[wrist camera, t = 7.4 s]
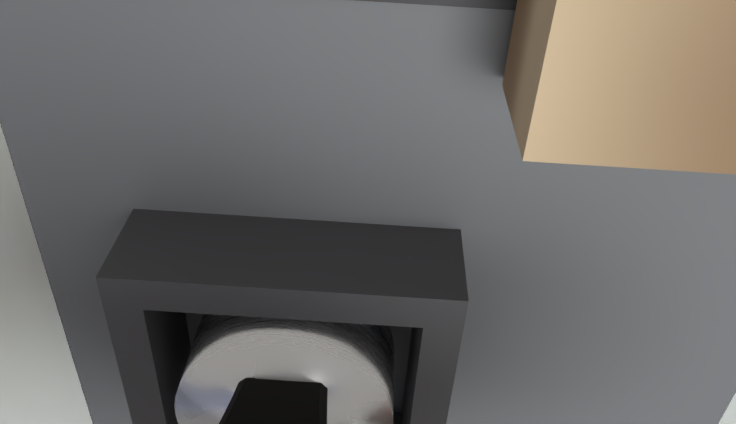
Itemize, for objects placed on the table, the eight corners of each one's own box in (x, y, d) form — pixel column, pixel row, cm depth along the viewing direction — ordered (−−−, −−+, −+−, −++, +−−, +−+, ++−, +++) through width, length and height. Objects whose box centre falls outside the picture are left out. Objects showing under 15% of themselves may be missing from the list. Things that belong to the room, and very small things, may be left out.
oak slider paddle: (502, 84, 9) (522, 160, 8) (549, -181, 8) (589, -152, 6) (791, 102, 9) (872, 183, 8) (912, -158, 7) (1051, -125, 6)
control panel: (158, 534, 20) (123, 654, 18) (-87, -427, 8) (-330, -498, 5) (596, 564, 20) (624, 688, 18) (1048, -361, 8) (1371, -400, 5)
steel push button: (207, 404, 14) (186, 476, 12) (188, 267, 11) (161, 337, 10) (387, 416, 14) (386, 489, 12) (401, 281, 11) (401, 353, 10)
